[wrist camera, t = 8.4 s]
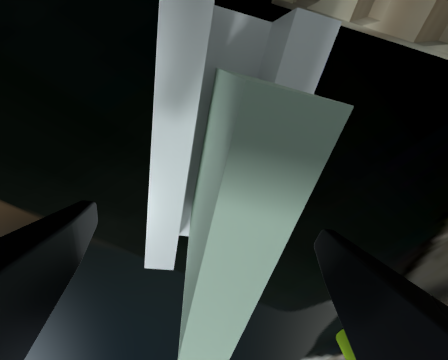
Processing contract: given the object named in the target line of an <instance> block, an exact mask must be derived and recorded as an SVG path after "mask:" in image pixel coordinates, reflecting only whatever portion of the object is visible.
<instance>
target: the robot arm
mask: <svg viewBox="0 0 448 360" xmlns="http://www.w3.org/2000/svg"><path fill="white" fill-rule="evenodd" d="M97 223H98V216H97V206H96V203H95V202H93V201H84V200H83V201H80V202H77V203H75V204H73V205H71V206H69V207H66V208H64V209H62V210H60V211H57V212H55V213H53V214H51V215H49V216H46V217H44V218H42V219H40V220H38V221H35V222H33V223H31V224H29V225H26V226H24V227H22V228H20V229H18V230H15V231H13V232H11V233H9V234H7V235H4V236H2V237H0V360H24V359H25V357H26V355H27V354H28V352H29V350H30V349H31V347H32V345H33V343H34V342H35V340H36V338H37V337H38V335H39V333H40V331H41V330H42V328H43V326H44V325H45V323H46V321H47V319H48V318H49V316H50V314H51V313H52V311H53V309H54V307H55V306H56V304H57V302H58V301H59V299H60V297H61V295H62V294H63V292H64V291H65V289H66V287H67V285H68V284H69V282H70V280H71V279H72V277H73V275H74V273H75V272H76V270H77V268H78V266H79V264H80V262H81V260H82V258H83V256H84V253H85V251H86V249H87V247H88V244H89V242H90V240H91V238H92V235H93V233H94V231H95V229H96V226H97ZM314 249H315V252H316V255H317V259H318V262H319V265H320V269H321V272H322V275H323V278H324V281H325V284H326V287H327V289H328V292H329V294H330V297H331V299H332V302H333V304H334V307H335V309H336V311H337V314H338V317H339V319H340V321H341V324H342V326H343V329H344V331H345V334H346V336H347V339H348V341H349V344H350V346H351V349H352V351H353V354H354V356H355V359H356V360H448V306H447V305H445V304H444V303H442V302H441V301H439V300H438V299H436V298H435V297H433V296H430V294H428V293H427V292H425V291H424V290H422V289H421V288H419V287H418V286H416V285H415V284H413V283H412V282H410V281H409V280H407V279H406V278H404V277H403V276H401V275H400V274H398V273H397V272H395V271H394V270H392V269H391V268H389V267H388V266H386V265H385V264H383V263H382V262H380V261H379V260H377V259H376V258H374V257H373V256H371V255H370V254H368V253H367V252H365V251H364V250H362V249H361V248H359V247H358V246H356V245H355V244H353V243H352V242H350V241H349V240H347V239H346V238H344V237H343V236H341V235H340V234H338V233H337V232H335V231H334V230H329V229H323V230H322V231H321V232H320V234H319V236H318V238H317V239H316V241H315V243H314Z"/></svg>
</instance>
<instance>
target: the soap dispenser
mask: <svg viewBox="0 0 448 360" xmlns="http://www.w3.org/2000/svg"><path fill="white" fill-rule="evenodd" d="M336 340H337V342H338V344H339V346H340V348H341V350H342V352H343V355H344V357H345V359H346V360H356V359H355V356H354V354H353V351H352V349H351V346H350V344H349V341H348V339H347V336H346V334H345V331H344V329H342V330H341V331H339V332H338V334H337V335H336Z"/></svg>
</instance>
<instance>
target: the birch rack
mask: <svg viewBox="0 0 448 360" xmlns="http://www.w3.org/2000/svg"><path fill="white" fill-rule="evenodd" d="M271 3H272V4H275V5H278V6H282V7H285V8H288V9H291V10H294V9H295V8H297V7H298V8H301V9H304V10H308V11H311V12H314V13H317V14H320V15H323V16H326V17H329V18H332V19H335V20H339V21H342V23H341V26H344V27H348V28H351V29H354V30H357V31H360V32H363V33H366V34H370V35H373V36H376V37H379V38H382V39H385V40H389V41H392V42H395V43H398V44H401V45H404V46H407V47H411V48H414V49H417V50H420V51H423V52H426V53H429V54H433V55H436V56H439V57H442V58H445V59H448V0H272V2H271Z"/></svg>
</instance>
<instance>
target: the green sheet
mask: <svg viewBox="0 0 448 360" xmlns="http://www.w3.org/2000/svg"><path fill="white" fill-rule="evenodd" d="M353 107H354V106H352V105H348V104H345V103H341V102H338V101H334V100H331V99H328V98H324V97H321V96H317V95H314V94H310V93H307V92H303V91H300V90H296V89H293V88H289V87H286V86H282V85H279V84H276V83H272V82H269V81H265V80H262V79H258V78H255V77H251V76H248V75H243V74H239V73H235V72H231V71H227V70H223V69H219V68H216V72H215V77H214V83H213V89H212V94H211V100H210V106H209V111H208V117H207V123H206V128H205V134H204V139H203V145H202V151H201V156H200V162H199V168H198V173H197V179H196V185H195V190H194V196H193V202H192V208H191V219H190V230H189V242H188V253H187V264H186V275H185V286H184V297H183V308H182V319H181V320H182V321H181V330H180V341H179V353H178V360H229V359H230V357H231V355H232V353H233V351H234V349H235V347H236V345H237V343H238V341H239V339H240V337H241V335H242V333H243V331H244V329H245V327H246V325H247V323H248V321H249V318H250V316H251V314H252V312H253V310H254V308H255V306H256V304H257V302H258V300H259V298H260V296H261V294H262V292H263V290H264V288H265V286H266V284H267V282H268V280H269V278H270V276H271V274H272V272H273V270H274V268H275V266H276V264H277V262H278V260H279V257H280V255H281V253H282V251H283V249H284V247H285V245H286V243H287V241H288V239H289V237H290V235H291V233H292V231H293V229H294V227H295V225H296V223H297V221H298V219H299V217H300V215H301V213H302V211H303V209H304V207H305V205H306V203H307V201H308V199H309V196H310V194H311V192H312V190H313V188H314V186H315V184H316V182H317V180H318V178H319V176H320V174H321V172H322V170H323V168H324V166H325V164H326V162H327V160H328V158H329V156H330V154H331V152H332V150H333V148H334V146H335V144H336V142H337V140H338V138H339V135H340V133H341V131H342V129H343V127H344V125H345V123H346V121H347V119H348V117H349V115H350V113H351V111H352V109H353Z"/></svg>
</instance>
